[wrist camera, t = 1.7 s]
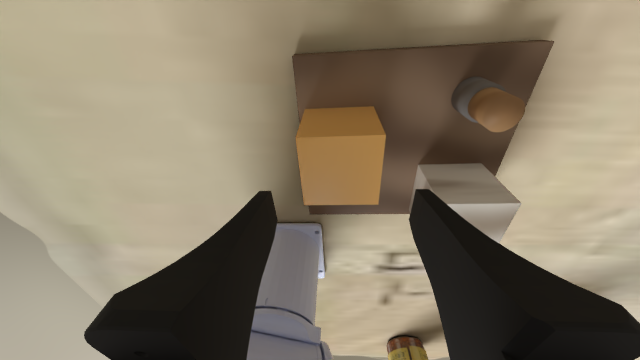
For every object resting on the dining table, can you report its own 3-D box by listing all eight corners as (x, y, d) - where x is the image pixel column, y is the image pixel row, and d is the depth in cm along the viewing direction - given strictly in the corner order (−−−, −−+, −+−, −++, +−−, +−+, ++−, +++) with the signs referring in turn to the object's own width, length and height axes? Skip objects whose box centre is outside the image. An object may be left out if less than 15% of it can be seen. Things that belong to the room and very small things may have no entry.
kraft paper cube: (369, 165, 20) (378, 204, 16) (310, 166, 20) (304, 205, 16) (373, 106, 17) (386, 135, 13) (304, 109, 17) (295, 137, 13)
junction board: (473, 206, 23) (511, 257, 18) (310, 207, 24) (304, 256, 19) (542, 40, 15) (643, 51, 10) (294, 54, 16) (276, 70, 11)
